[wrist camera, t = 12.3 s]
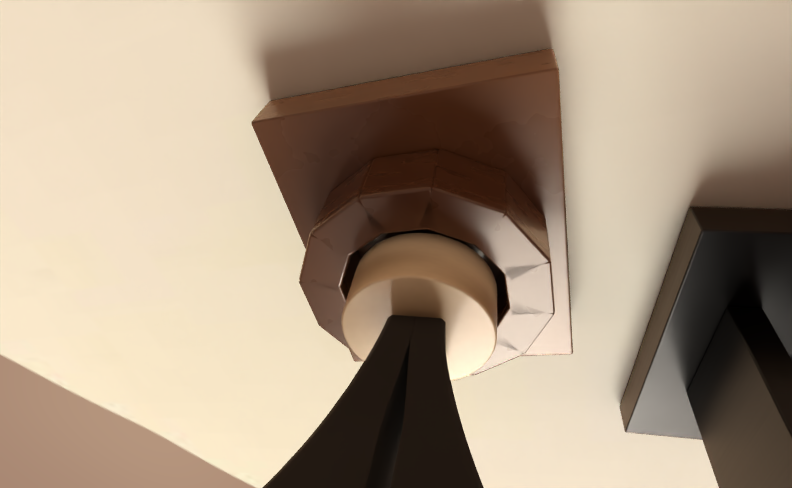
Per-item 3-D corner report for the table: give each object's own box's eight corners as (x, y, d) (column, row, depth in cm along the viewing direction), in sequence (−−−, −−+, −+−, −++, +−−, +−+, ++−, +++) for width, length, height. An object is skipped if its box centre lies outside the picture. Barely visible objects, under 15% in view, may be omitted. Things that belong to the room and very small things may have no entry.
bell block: (568, 322, 19) (580, 404, 16) (362, 332, 21) (341, 407, 18) (553, 47, 13) (568, 103, 10) (268, 100, 15) (219, 158, 12)
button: (504, 333, 15) (505, 382, 14) (375, 339, 16) (364, 385, 15) (487, 223, 13) (485, 270, 11) (337, 239, 14) (319, 283, 12)
